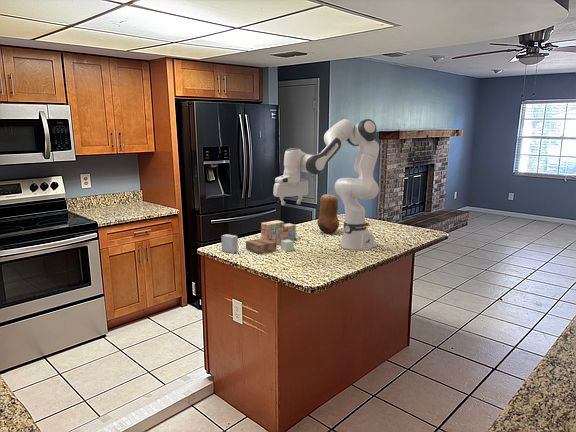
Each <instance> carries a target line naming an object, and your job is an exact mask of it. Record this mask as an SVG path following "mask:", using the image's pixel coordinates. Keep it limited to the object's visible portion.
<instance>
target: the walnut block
mask: <svg viewBox="0 0 576 432" xmlns="http://www.w3.org/2000/svg"><path fill="white" fill-rule="evenodd" d="M245 250H247V251H249V252H252V253H253V254H256V255H261V254H267V253H271V252H276V251H277V243H276V242H274V241H271V240H268V239H265V238H261V237H260V238H255V239H250V240H245Z"/></svg>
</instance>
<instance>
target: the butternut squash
mask: <svg viewBox="0 0 576 432" xmlns="http://www.w3.org/2000/svg"><path fill="white" fill-rule="evenodd" d="M319 202H320V203H319V205H320V207H319V216H318V218H317V226H318V228H319V230H320V232H323V233H325V234H328V235H329V234H333V233H335V232H337V230H338V228H339V226H340V221H339V217H338V209H339V200H338V197H337V196H336V195H333V194H330V193H329V194H326V193H325V194H323V195H321V197H320V201H319Z"/></svg>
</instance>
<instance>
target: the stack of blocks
mask: <svg viewBox="0 0 576 432" xmlns="http://www.w3.org/2000/svg"><path fill="white" fill-rule="evenodd" d="M260 224H261V225H260V227H261V228H260V236H261V237H260V239H261V238H265V239H268V240H271V241H274V242H276V244H281V241H282V240H291V241H296V239H297V237H296V236H297V234H296V233H297V227H296V224H295V223H294V224H293V223H290V222H289V223H288V222H287V223H285V221H282V220H278V219H277V220H271V221H264V222H260Z"/></svg>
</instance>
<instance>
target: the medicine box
mask: <svg viewBox="0 0 576 432" xmlns="http://www.w3.org/2000/svg"><path fill="white" fill-rule="evenodd" d="M238 238H239V237H238V235H233V234H223V235H221V239H220V240H221V251H222V252H226V253H232V254H234V253H237V252H238V251H239V242H238V240H239V239H238Z"/></svg>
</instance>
